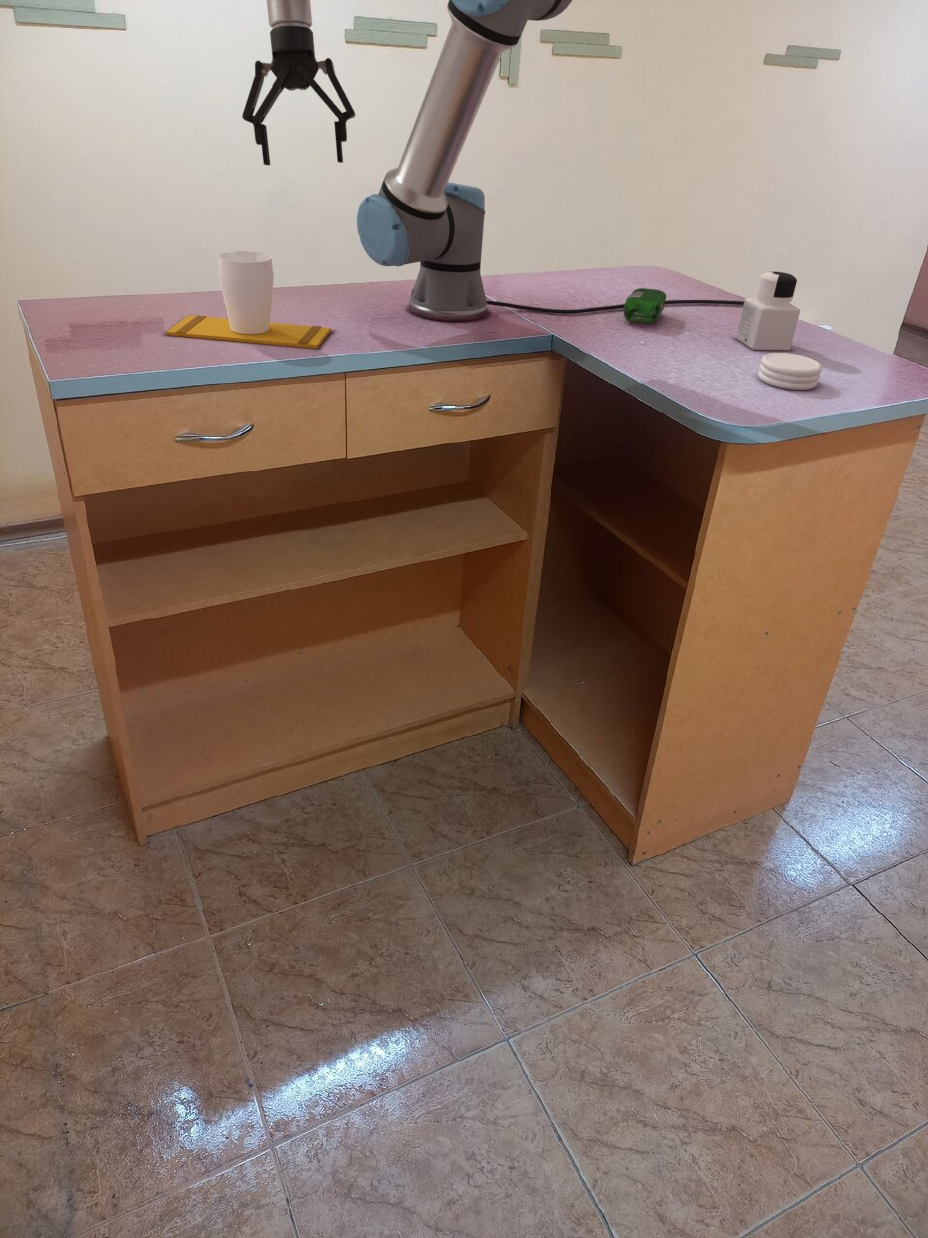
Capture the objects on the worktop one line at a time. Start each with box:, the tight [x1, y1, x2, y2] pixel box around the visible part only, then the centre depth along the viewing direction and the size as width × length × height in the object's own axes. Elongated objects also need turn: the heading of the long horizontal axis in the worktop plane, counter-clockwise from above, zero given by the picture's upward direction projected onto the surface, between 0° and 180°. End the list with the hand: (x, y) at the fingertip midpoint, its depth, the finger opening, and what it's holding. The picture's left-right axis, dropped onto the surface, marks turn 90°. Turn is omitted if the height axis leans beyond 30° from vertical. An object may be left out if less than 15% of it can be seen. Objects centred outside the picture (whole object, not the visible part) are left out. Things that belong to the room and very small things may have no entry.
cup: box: [218, 250, 275, 335], centre depth 153 cm, size 9×9×12 cm
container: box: [736, 271, 801, 351], centre depth 168 cm, size 8×8×13 cm
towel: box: [165, 314, 332, 350], centre depth 156 cm, size 26×11×1 cm, turn 85°
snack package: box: [623, 287, 667, 325], centre depth 180 cm, size 7×16×5 cm, turn 161°
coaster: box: [757, 352, 823, 391], centre depth 152 cm, size 10×10×4 cm
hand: (303, 163), depth 166 cm, fingers open, 13 cm apart
